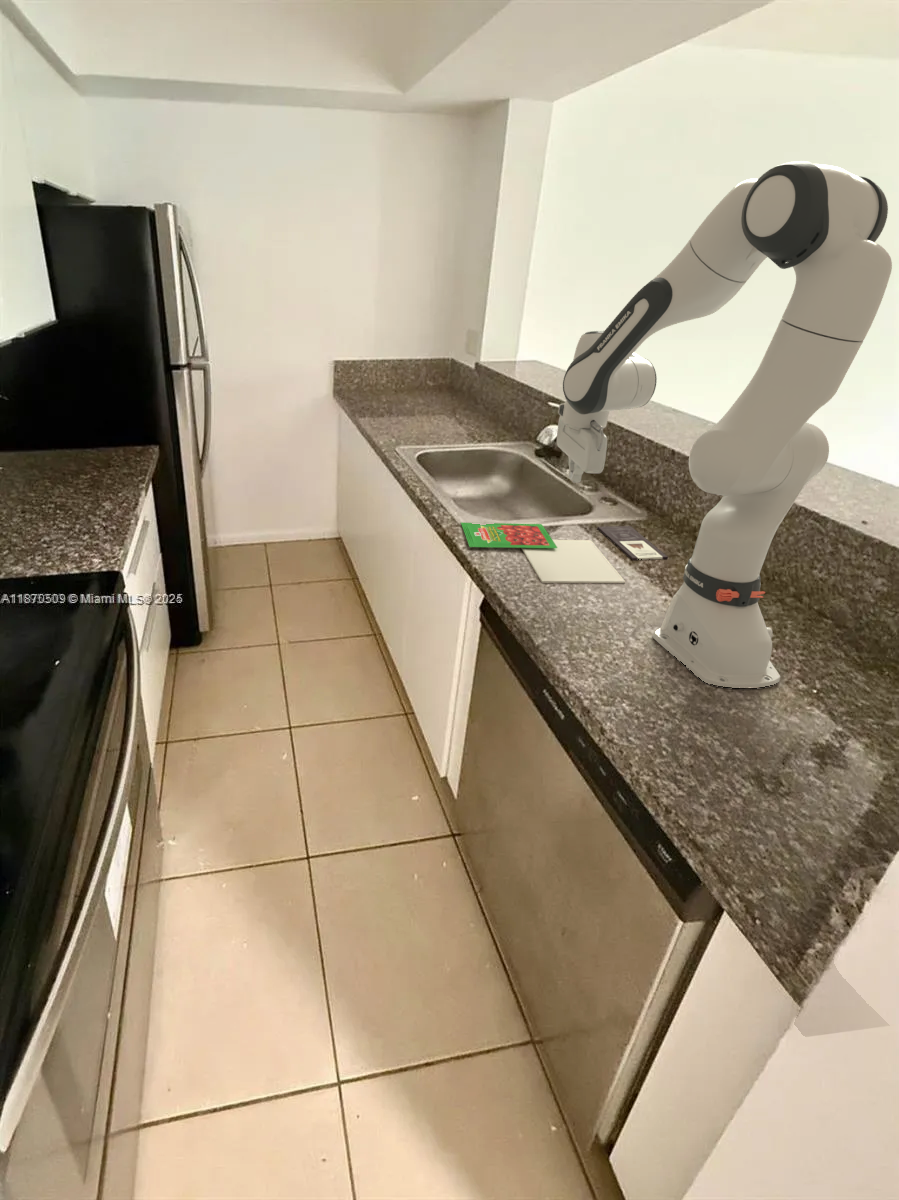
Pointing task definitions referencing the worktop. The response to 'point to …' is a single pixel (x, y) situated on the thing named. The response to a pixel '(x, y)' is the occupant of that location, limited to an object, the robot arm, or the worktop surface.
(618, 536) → the chocolate bar
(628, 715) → the worktop surface
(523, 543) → the tomato puree packet
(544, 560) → the rubber mat
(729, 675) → the robot arm
